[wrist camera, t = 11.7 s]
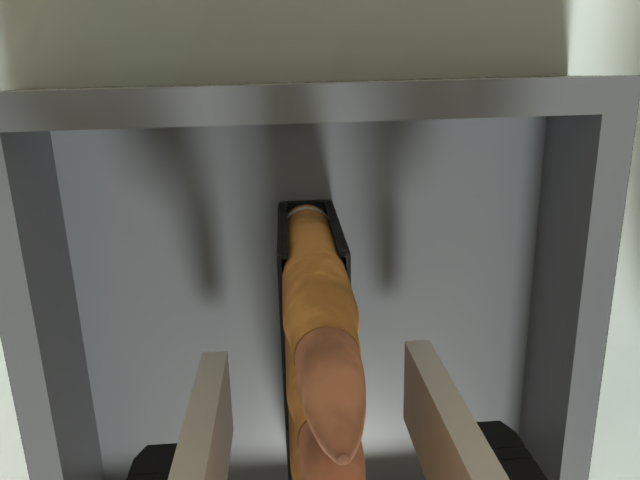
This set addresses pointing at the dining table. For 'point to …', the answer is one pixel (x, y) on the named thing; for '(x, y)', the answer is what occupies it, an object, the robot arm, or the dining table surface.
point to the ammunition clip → (319, 345)
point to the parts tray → (261, 256)
